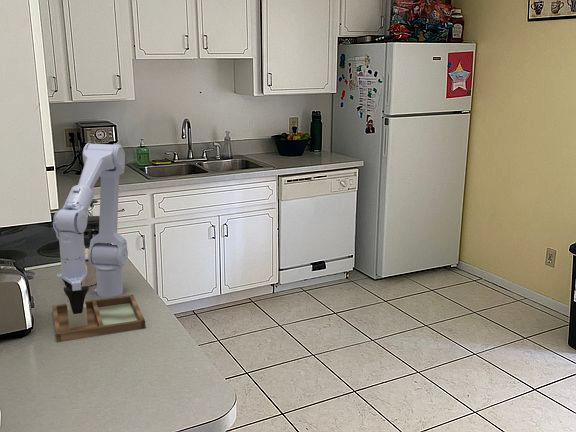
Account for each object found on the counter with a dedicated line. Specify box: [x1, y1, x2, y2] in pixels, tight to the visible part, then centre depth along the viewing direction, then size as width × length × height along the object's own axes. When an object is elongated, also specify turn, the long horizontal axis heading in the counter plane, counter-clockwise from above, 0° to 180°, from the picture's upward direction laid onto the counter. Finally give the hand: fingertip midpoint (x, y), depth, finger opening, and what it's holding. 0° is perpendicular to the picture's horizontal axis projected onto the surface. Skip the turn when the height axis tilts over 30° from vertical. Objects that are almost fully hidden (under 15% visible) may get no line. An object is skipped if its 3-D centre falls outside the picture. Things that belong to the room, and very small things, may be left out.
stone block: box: [66, 300, 88, 328], centre depth 151 cm, size 4×4×5 cm
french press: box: [83, 199, 110, 249], centre depth 189 cm, size 12×9×23 cm
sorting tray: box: [51, 294, 147, 343], centre depth 153 cm, size 18×21×3 cm
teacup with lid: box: [81, 245, 97, 287], centre depth 178 cm, size 12×9×12 cm
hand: (76, 307), depth 150 cm, fingers open, 7 cm apart
